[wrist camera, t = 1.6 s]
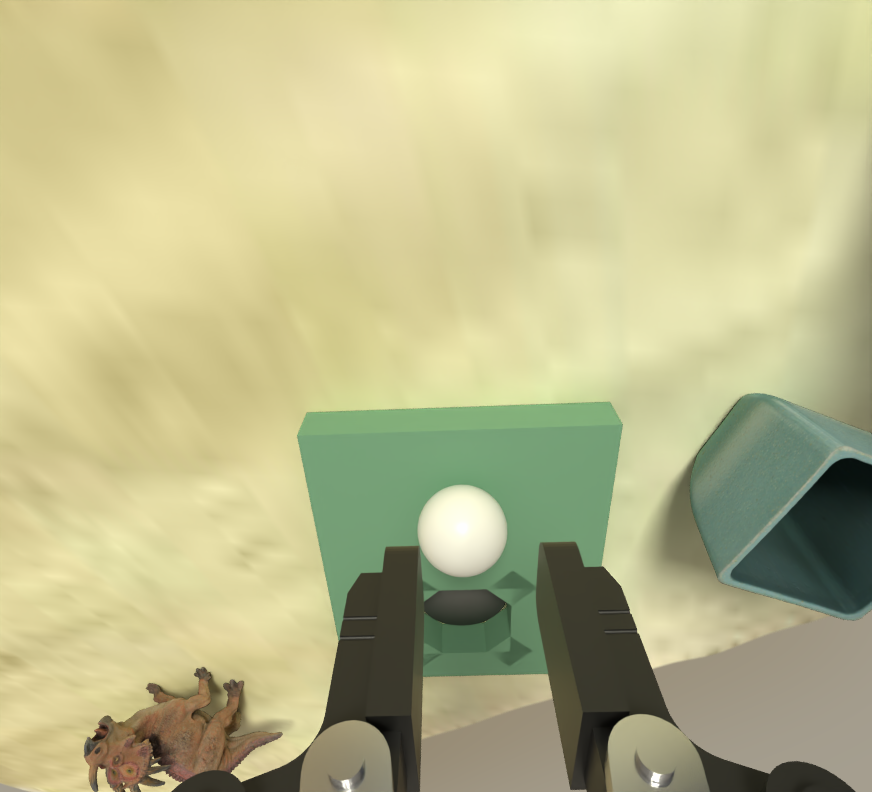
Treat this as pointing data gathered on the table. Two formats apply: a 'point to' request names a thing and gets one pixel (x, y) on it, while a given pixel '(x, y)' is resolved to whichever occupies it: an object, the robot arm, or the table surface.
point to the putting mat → (462, 465)
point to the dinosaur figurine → (171, 739)
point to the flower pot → (788, 506)
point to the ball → (462, 530)
